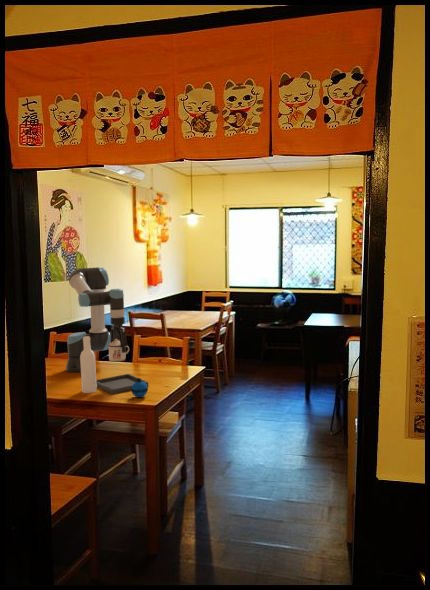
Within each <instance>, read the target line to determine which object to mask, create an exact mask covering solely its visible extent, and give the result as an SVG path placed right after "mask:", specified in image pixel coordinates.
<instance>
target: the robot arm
mask: <svg viewBox="0 0 430 590" xmlns="http://www.w3.org/2000/svg"><path fill="white" fill-rule="evenodd" d="M68 282H69V285H70V287H71V288H73V289H74V290H75V291H76V293H77V295H78V298H77V300H78V305H79V307H82V308H83V307H84V308H88V307H90V325H91V326H90V327H91V328H90V329H89V330H88V333H86V331H82V332H80V331H79V332H74V333H71V334H69V335H68V336H67V339H66V340H67V342H66V344H67V355H68V356H67V362H66V365H65V372H68V373H81V363H80V355H81V352H82V351H83V350H84V344H83V337H85V336H89V337H90V345H91V350H92V351H93V352H94V353H95V352H102V351H107V350H109V346H108V344H109V343H111V342H113V341H114V340H115V339H118V341H120V344H121V346H120V353H121V359H123V358H125V359H126V358H127V357H126V355H127V354H126V352H127V350H126V347H125V346H128V337H127V330H126V327H124V326H123V324H125V323H126V321H125V320H126V319H125V317H124V316H125V303H124V301H125V298H124V297H125V296H124V295H125V294H124V289H122V288H111V289H109V290H108V291H106V289H107V286H108V285H109V284H110V283H109V282H110V279H109V274H108V271H107V269H106V268H104V267H97V266H96V267H86V268H85V267H84V268H83V267H81V268H77V269H76V270H74V271H73V272H72V273H70V276H69V278H68ZM108 305H109V307H110V308H109V311H110V312H109V314H110V324H111V325H110V331H108V328H106V322H105V321H106V319H105V318H106V316H105V315H106V314H105V306H108Z"/></svg>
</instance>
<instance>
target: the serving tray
mask: <svg viewBox="0 0 430 590" xmlns="http://www.w3.org/2000/svg"><path fill="white" fill-rule="evenodd" d="M138 378H139V377H137V376H135V375H133V374H130V373H125V374H121V375H119V374H118V375H114V376H109V377H106V378H98V379H96V384H97V388H99V389H101V390H103V391H105V392H107V393H109V394H110V395H115V393H116V394H119V393H120V392H121V393H124V392H130V391H131V387H132V385H133V384H134V383H135V382H137V381H138V380H137V379H138ZM140 379H141V378H140ZM141 381H143V382H144V383H146V385H147V387H148V388H149V381H146V380H145V379H141ZM121 393H120V394H121Z"/></svg>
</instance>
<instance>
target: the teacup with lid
mask: <svg viewBox="0 0 430 590" xmlns="http://www.w3.org/2000/svg"><path fill="white" fill-rule="evenodd" d="M108 346H109V348H108V360H109V361H110V362H121V361H125V360H126V358H123V359H121V353H120V346H121V344H120V340H119V338H118V339H115V340H114V341H113V342H110V343H109V344H108ZM125 348H127V350H126V355H128V353H129V352H130V347H129V345H127V346H125Z"/></svg>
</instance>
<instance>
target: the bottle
mask: <svg viewBox="0 0 430 590" xmlns="http://www.w3.org/2000/svg"><path fill="white" fill-rule="evenodd" d="M83 344H84V350H83V351H82V352H81V355H80V363H81V372H80V376H81V377H80V378H81V392H82V393H84V394H92V393H95V392H97V390H98V389H97V388H98V387H97V384H96V380H97V371H96V370H97V369H96V367H97V366H96V354H95V351H94V352H93V351H92V350H91V345H90V337H89V336H85V337H83Z"/></svg>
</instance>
